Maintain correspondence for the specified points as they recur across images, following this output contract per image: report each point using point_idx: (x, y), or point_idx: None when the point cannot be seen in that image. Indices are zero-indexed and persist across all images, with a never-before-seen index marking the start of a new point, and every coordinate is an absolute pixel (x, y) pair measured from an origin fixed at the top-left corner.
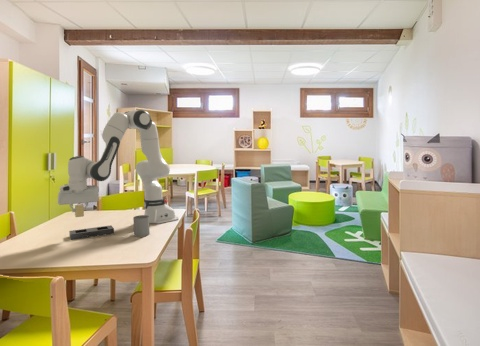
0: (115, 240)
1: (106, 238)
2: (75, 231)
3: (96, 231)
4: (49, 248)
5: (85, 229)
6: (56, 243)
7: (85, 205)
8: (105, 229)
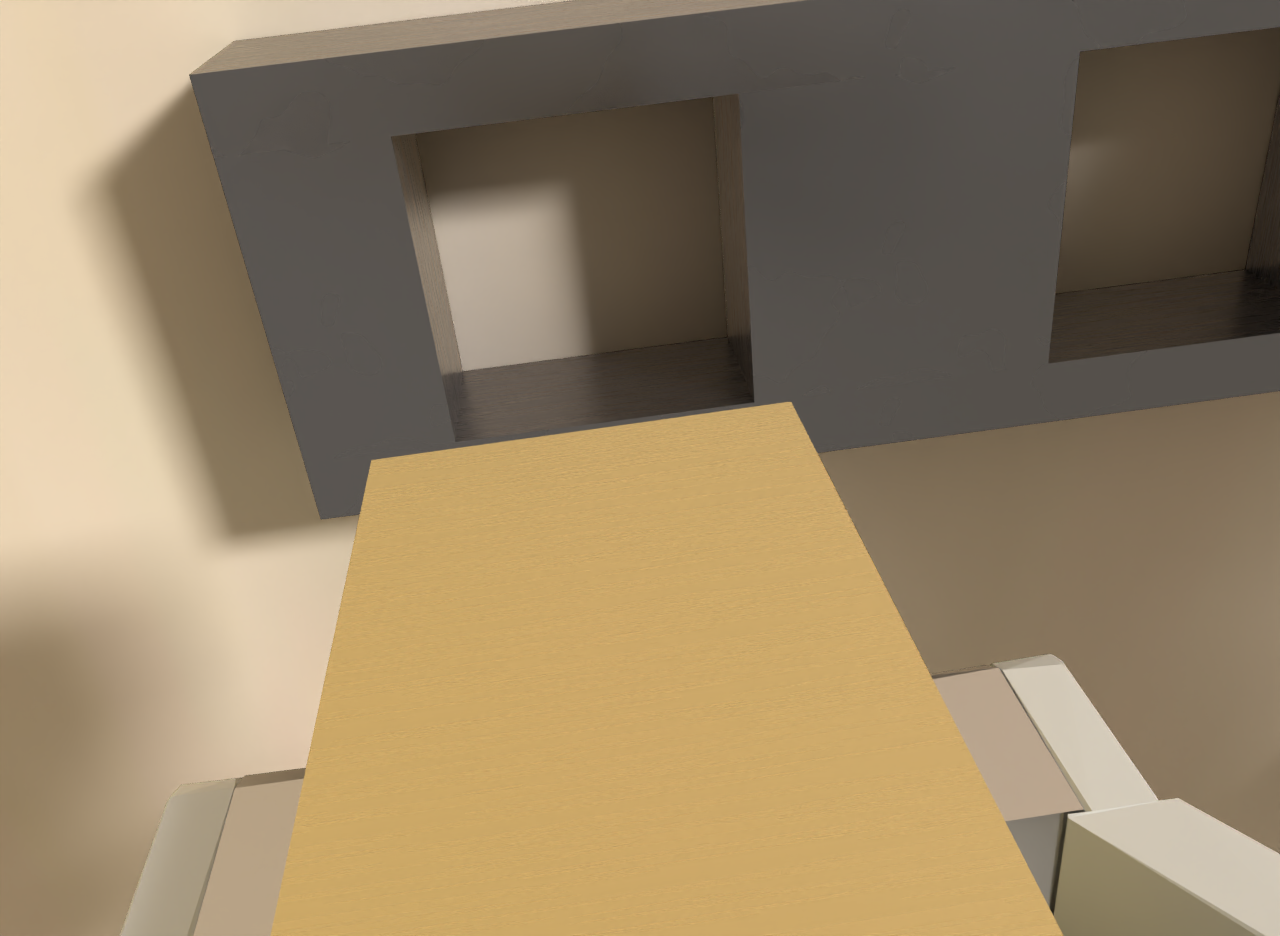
0: (1182, 763)
1: (1085, 601)
2: (406, 126)
3: (989, 423)
4: (30, 819)
5: (724, 93)
6: (59, 575)
7: (1228, 918)
8: (1241, 379)
